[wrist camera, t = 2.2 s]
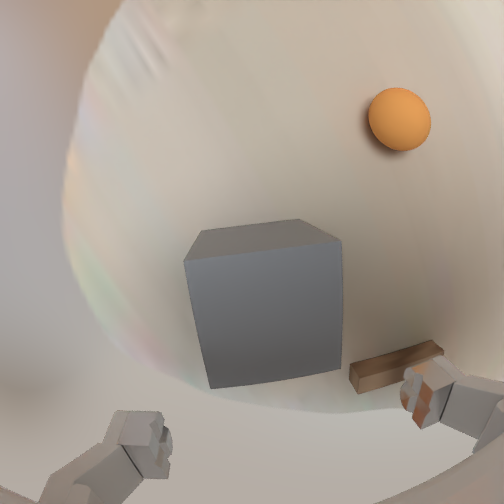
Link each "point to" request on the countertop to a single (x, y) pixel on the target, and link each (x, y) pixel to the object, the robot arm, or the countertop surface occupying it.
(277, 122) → the countertop surface
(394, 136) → the ball
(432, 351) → the bar
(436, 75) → the countertop surface
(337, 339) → the matte gray box
